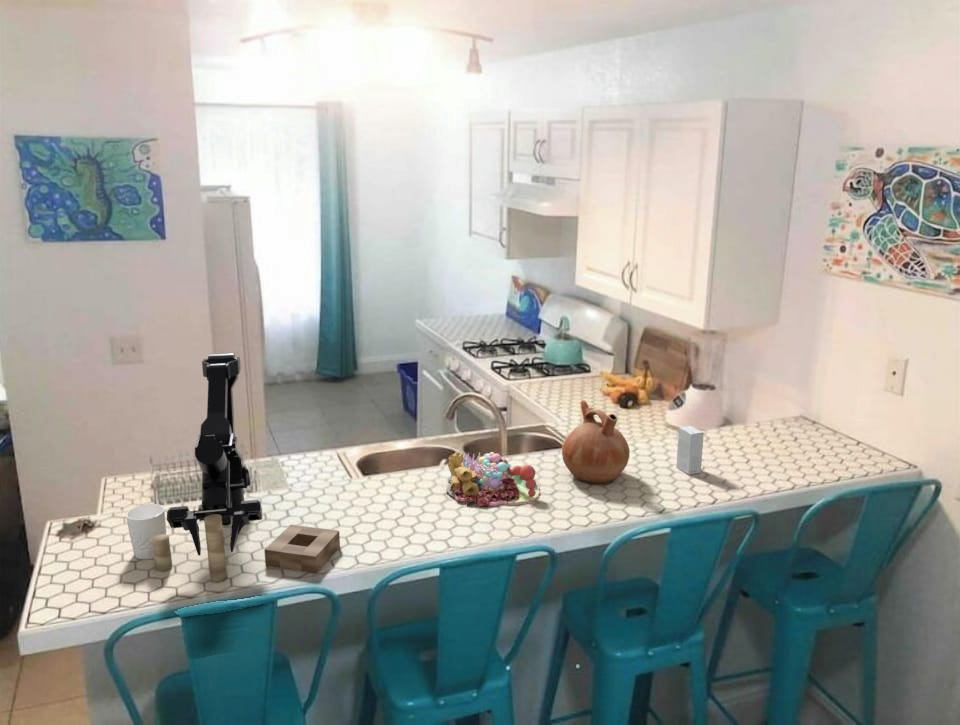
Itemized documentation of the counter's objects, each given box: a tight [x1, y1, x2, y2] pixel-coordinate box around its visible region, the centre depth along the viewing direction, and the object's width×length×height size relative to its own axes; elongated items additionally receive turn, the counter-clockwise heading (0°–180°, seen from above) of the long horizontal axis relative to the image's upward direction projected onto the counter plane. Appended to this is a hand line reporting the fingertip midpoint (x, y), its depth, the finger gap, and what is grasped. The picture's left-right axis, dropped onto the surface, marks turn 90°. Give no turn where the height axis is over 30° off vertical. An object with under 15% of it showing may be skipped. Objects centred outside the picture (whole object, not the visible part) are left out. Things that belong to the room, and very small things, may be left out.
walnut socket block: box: [264, 524, 341, 574], centre depth 177 cm, size 12×12×4 cm
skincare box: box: [675, 425, 705, 475], centre depth 222 cm, size 6×4×12 cm
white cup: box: [125, 503, 167, 560], centre depth 178 cm, size 8×8×10 cm
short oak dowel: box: [152, 534, 173, 573], centre depth 172 cm, size 3×3×7 cm
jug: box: [561, 399, 631, 486], centre depth 217 cm, size 18×18×20 cm
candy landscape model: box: [445, 451, 541, 508], centre depth 211 cm, size 25×24×9 cm
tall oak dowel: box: [203, 514, 228, 584], centre depth 166 cm, size 3×3×14 cm
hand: (215, 553), depth 165 cm, fingers open, 6 cm apart
